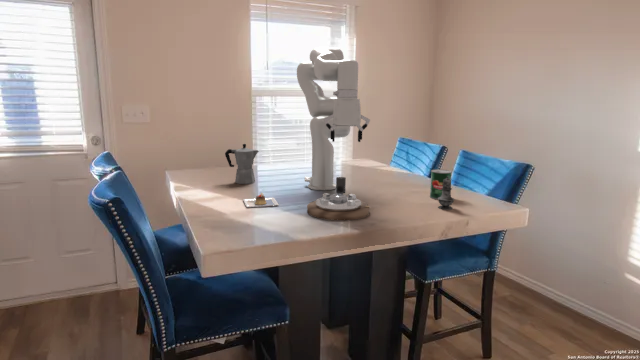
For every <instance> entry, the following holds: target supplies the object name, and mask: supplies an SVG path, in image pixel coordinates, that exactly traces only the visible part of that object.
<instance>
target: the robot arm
mask: <svg viewBox="0 0 640 360" xmlns="http://www.w3.org/2000/svg"><path fill="white" fill-rule="evenodd" d="M344 58H345V57H344V52H343V51H342V50H341V48H339V47H329V46H319V47H315V48H313V49H312V50H310V53H309V60H310V61H309V60H307V61H306V60H305V61H302V62H300V63H299V64H298V65H297V67H296V79H297V83H298V85H299V87H300V89H301V91H302V93H303V95H304V97H305V100H306V101H305V102H306V105H307V108H308V112H309V114H310V116H311V117H312V118H311V120H310V123H309V127H310V128H309V130H310V137H311V176H304V182H307V183H309V184H308V186H307V187H308V188H309V189H310V190H313V191H330V190H331V191H333V190H336V183H334V168H335V167H334V164H335V163H334V161H335V160H334V157H335V155H334V153H335V151H334V150H335V149H334V145H333V144H332V143H334V142H335V139H339V138H345V137H346V138H347V137H348V136H349V135H350V132H351V127H357V129H358V131H357V142H358V143H361V141H363V132H364V130H365V129H366V128H367V127H368V125H369V124H370V122H371V119H370V118H368V117H366V116H364V115H362V112H361V111H362V110H361V109H362V108H361V101H360V98H358V97H359V96H358V93H359V92H358V89H359V85H358V84H359V62H358V61H357V60H353V59H344ZM315 81H320V82H321V81H323V82H337V83H336V86H337V87H336V88H337V89H336V90H335V91H333V92H332V96H326V95H325V94H324V90H323V88H322V87H321V86H320V85H319V84H318V83H317V82H315ZM362 120H363V121H364V124H363V125H361V122H362ZM329 139H330V140H332V141H330V140H329Z"/></svg>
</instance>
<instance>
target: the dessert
mask: <svg viewBox="0 0 640 360" xmlns="http://www.w3.org/2000/svg"><path fill="white" fill-rule="evenodd" d="M242 200H243V202H244V205H245V206H246V208H249V209H250V208H266V207H277V206H279V205H280V204H279V203H278V201H277V200H276V198H275V197H266V196H265V194H264V193H263V192H260V194H259V195H256V198H243V199H242ZM267 201H271V202H272V203H273V204H269V205H266V204H267ZM248 202H254V204H255V205H252V206H251V205H249V203H248Z"/></svg>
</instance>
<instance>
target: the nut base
mask: <svg viewBox="0 0 640 360" xmlns="http://www.w3.org/2000/svg"><path fill="white" fill-rule="evenodd" d="M370 208H371V207H370V205H369V204H367V202H363V201H361V208H359V209H357V210H353V211H345V212H336V211H327V210H322V209H319V208H317V207H316V200H314V201H311V202H309V203H307V205H306V213H307V214H308V215H310V216H311V217H312V218H316V219H320V220H325V221H326V220H327V221H341V222H342V221H354V220H360V219H363V218H366V217H368V216H369V215H370Z"/></svg>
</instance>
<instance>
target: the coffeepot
mask: <svg viewBox="0 0 640 360" xmlns="http://www.w3.org/2000/svg"><path fill="white" fill-rule="evenodd" d="M259 152H260V151H259V150H256V149H253V148H248V147H247V144H246V143H243V144H242V147H241V148H238V149H235V148H234V149H232V148H231V149H230V148H229V149H227V150H226V151H225V153H224V156H225V158H226V161H227V162H228V166H229V167H230V168H234V167H235V164H236V165H237V169H236V174H235V181H234V182H235V183H236V184H238V185H250V184H255V182H256V178H255V173H254V168H253V165H254V159H255V158H256V157H257V154H258V153H259ZM230 154H234V159H235V164H232V159H231V157H230Z"/></svg>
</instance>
